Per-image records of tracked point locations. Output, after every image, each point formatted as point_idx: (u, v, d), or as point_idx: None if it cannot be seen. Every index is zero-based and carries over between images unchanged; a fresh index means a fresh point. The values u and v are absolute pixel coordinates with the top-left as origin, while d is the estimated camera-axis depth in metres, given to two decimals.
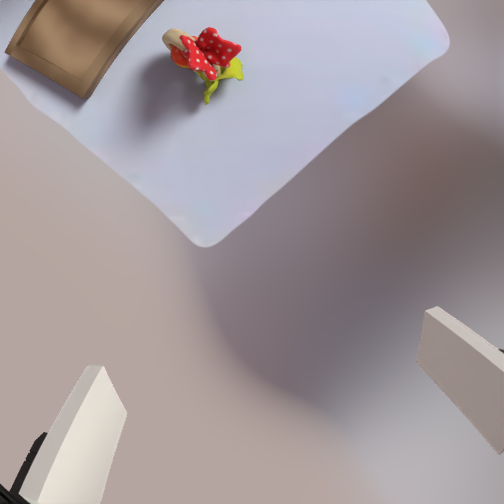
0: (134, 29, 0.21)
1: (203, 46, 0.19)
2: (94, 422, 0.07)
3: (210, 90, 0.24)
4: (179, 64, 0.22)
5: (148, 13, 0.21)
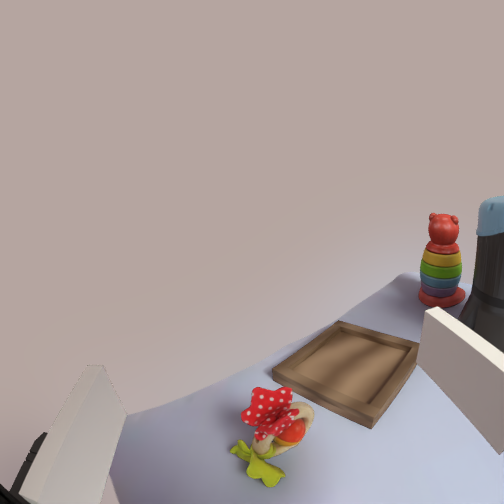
0: (327, 403, 0.30)
1: (280, 413, 0.21)
2: (94, 422, 0.07)
3: (239, 442, 0.23)
4: None
5: (343, 411, 0.28)
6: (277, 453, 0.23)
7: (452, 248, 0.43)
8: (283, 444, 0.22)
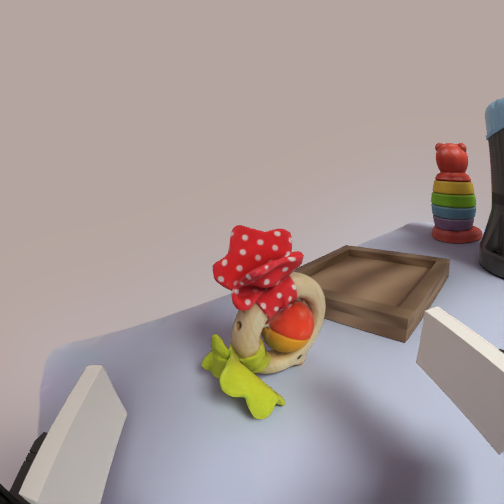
0: (341, 313, 0.24)
1: None
2: (94, 422, 0.07)
3: (213, 338, 0.17)
4: None
5: (363, 321, 0.22)
6: (272, 367, 0.18)
7: (463, 175, 0.38)
8: (281, 343, 0.17)
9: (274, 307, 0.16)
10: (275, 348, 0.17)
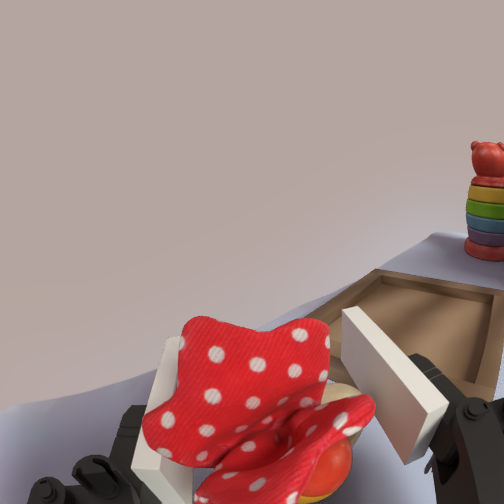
0: None
1: (294, 421, 0.05)
2: None
3: None
4: None
5: None
6: None
7: None
8: (296, 502, 0.07)
9: None
10: None
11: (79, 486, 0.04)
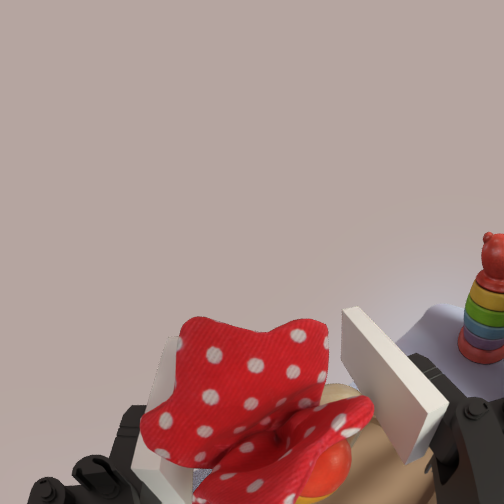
0: None
1: (292, 422, 0.05)
2: None
3: None
4: None
5: None
6: None
7: None
8: (295, 502, 0.07)
9: None
10: None
11: (79, 486, 0.04)
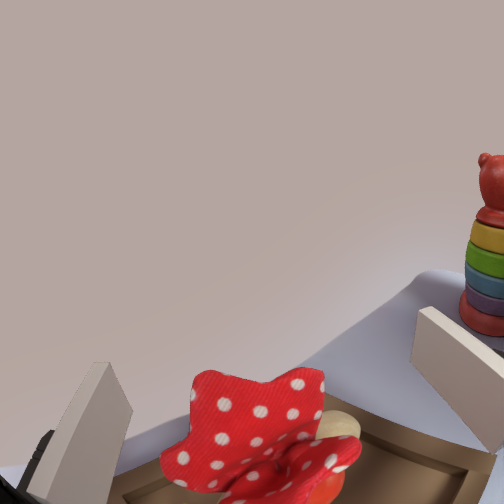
0: None
1: (291, 454, 0.06)
2: (101, 419, 0.07)
3: None
4: None
5: None
6: None
7: None
8: None
9: None
10: None
11: None
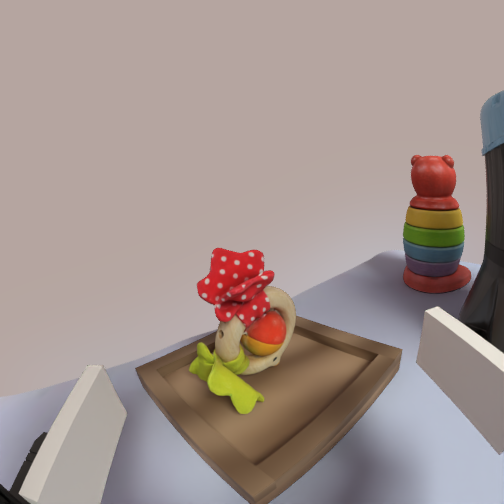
0: (191, 442, 0.15)
1: None
2: (94, 422, 0.07)
3: (199, 345, 0.19)
4: None
5: (211, 464, 0.13)
6: (251, 369, 0.20)
7: (448, 201, 0.29)
8: (258, 348, 0.19)
9: (251, 317, 0.18)
10: (253, 352, 0.20)
11: None
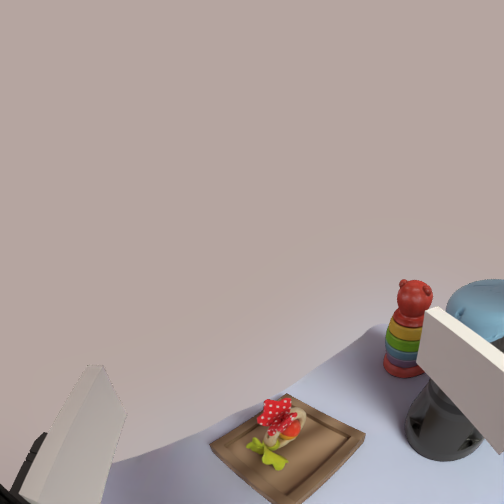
0: (252, 485, 0.27)
1: (284, 416, 0.30)
2: (94, 422, 0.07)
3: (254, 439, 0.31)
4: None
5: (264, 495, 0.26)
6: (281, 445, 0.32)
7: (421, 320, 0.41)
8: (285, 438, 0.31)
9: (283, 429, 0.30)
10: (282, 439, 0.32)
11: None
